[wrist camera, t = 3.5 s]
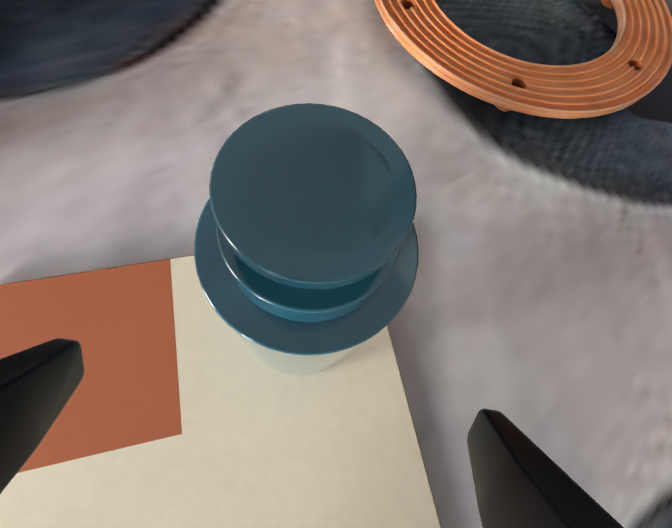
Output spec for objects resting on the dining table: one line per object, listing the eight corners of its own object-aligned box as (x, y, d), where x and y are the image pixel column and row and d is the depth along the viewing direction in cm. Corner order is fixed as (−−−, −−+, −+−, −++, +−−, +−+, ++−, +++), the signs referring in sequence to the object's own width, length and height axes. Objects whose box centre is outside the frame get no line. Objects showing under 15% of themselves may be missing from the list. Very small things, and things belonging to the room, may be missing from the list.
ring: (350, 100, 25) (356, 70, 23) (379, -96, 34) (385, -130, 32) (677, 161, 27) (713, 140, 24) (622, -41, 36) (644, -71, 34)
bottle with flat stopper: (370, 361, 19) (509, 302, 7) (252, 387, 17) (162, 374, 6) (344, 254, 21) (415, 60, 9) (237, 271, 19) (147, 78, 8)
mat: (468, 642, 15) (473, 649, 15) (-72, 855, 12) (-84, 870, 11) (360, 232, 22) (362, 229, 21) (-11, 289, 18) (-17, 286, 18)
